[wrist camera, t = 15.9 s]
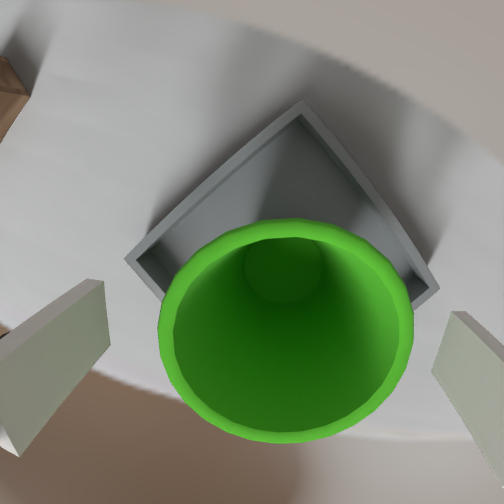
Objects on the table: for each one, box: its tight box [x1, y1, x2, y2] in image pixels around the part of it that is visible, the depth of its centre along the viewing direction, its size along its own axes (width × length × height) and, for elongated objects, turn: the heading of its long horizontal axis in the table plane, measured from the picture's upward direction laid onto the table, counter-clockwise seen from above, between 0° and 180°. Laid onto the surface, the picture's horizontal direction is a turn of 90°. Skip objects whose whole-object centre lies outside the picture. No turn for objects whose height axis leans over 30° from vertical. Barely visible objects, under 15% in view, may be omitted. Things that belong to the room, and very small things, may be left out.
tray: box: [124, 99, 440, 311], centre depth 20 cm, size 14×14×3 cm
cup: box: [157, 218, 414, 444], centre depth 16 cm, size 9×9×11 cm
